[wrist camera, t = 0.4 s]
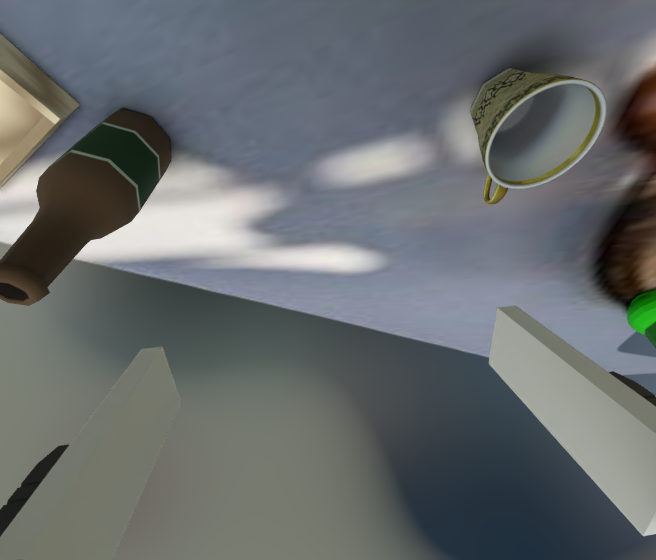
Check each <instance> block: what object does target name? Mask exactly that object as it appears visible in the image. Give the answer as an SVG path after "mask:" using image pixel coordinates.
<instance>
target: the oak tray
mask: <svg viewBox="0 0 656 560" xmlns="http://www.w3.org/2000/svg"><path fill="white" fill-rule="evenodd" d="M79 105H80V104H79V103H78V102H76V101H75V100H74V99H73V98H72V97H71V96H70V95H69V94H67V93H66V92H65V91H64V90H63V89H62V88H61V87H60V86H59V85H57V84H56V83H55V82H54V81H53V80H52V79H51V78H50V77H48V76H47V75H46V74H45V73H44V72H43V71H42V70H41V69H39V68H38V67H37V66H36V65H35V64H34V63H33V62H32V61H31V60H29V59H28V58H27V57H26V56H25V55H24V54H23V53H22V52H20V51H19V50H18V49H17V48H16V47H15V46H14V45H13V44H12V43H10V42H9V41H8V40H7V39H6V38H5V37H4V36H3V35H1V34H0V188H1V187H2V186H3V185H4V184H5V183H6V182H7V181H8V180H9V179H10V178H11V177H12V175H13V174H14V173H15V172H16V171H17V170H18V169H19V168H20V167H21V166H22V165H23V164H24V163H25V162H26V161H27V160H28V159H29V158H30V157H31V156H32V155H33V153H34V152H35V151H36V150H37V149H38V148H39V147H40V146H41V145H42V144H43V143H44V142H45V141H46V140H47V139H48V138H49V137H50V136H51V135H52V134H53V133H54V131H55V130H56V129H57V128H58V127H59V126H60V125H61V124H62V123H63V122H64V121H65V120H66V119H67V118H68V117H69V116H70V115H71V114H72V113H73V112H74V111H75V109H76V108H77V107H78V106H79Z"/></svg>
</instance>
